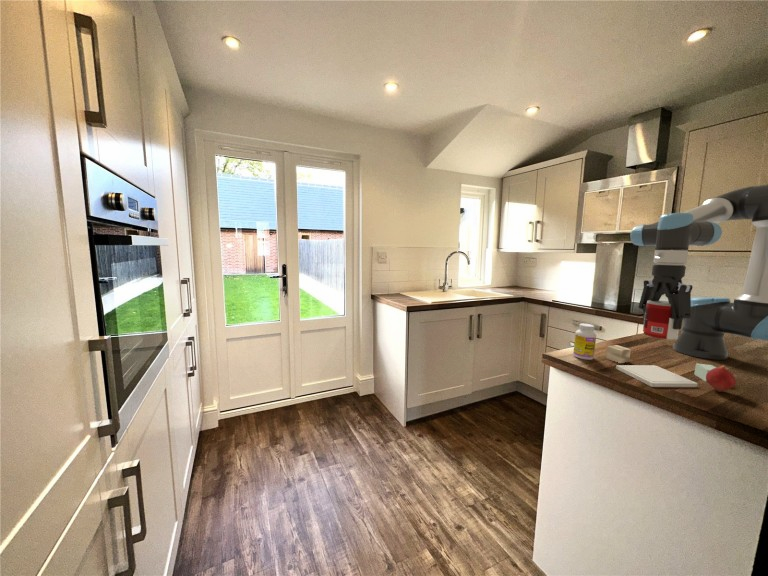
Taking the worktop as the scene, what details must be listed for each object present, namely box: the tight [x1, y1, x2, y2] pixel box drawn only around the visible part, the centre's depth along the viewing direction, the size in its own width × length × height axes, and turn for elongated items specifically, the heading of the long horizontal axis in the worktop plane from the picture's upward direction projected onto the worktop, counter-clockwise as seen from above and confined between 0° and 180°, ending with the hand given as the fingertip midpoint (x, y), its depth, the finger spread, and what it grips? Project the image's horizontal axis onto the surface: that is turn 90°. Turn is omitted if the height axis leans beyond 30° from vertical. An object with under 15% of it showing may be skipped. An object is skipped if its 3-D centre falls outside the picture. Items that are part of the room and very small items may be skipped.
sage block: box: [693, 363, 717, 383], centre depth 96 cm, size 4×6×4 cm, turn 159°
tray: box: [615, 364, 699, 388], centre depth 97 cm, size 14×14×1 cm
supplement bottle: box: [572, 323, 597, 361], centre depth 114 cm, size 7×7×13 cm
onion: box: [706, 365, 737, 392], centre depth 88 cm, size 6×6×8 cm
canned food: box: [642, 299, 678, 340], centre depth 95 cm, size 8×8×11 cm
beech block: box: [605, 344, 632, 364], centre depth 112 cm, size 5×5×5 cm
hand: (659, 334), depth 95 cm, fingers closed on canned food, 8 cm apart
